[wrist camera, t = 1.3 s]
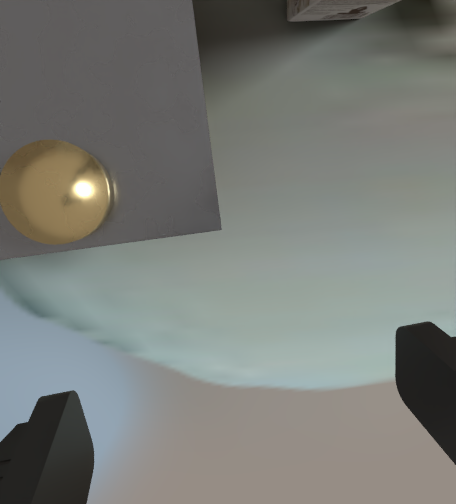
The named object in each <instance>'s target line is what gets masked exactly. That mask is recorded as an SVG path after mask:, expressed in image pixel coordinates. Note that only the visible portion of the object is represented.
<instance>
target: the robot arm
mask: <svg viewBox="0 0 456 504" xmlns="http://www.w3.org/2000/svg"><path fill="white" fill-rule="evenodd" d="M395 377H396V385H397V389H398V392H399V394H400V396H401V398H402V400H403V401H404V403H405V405H406V406H407V407H408V408H409V409H410V411H411V412H412V413H413V414H414V415H415V417H416V418H417V419H418V420H419V421H420V423H421V424H422V425H423V426H424V427H425V429H426V430H427V431H428V432H429V434H430V435H431V436H432V437H433V438H434V439H435V441H436V442H437V443H438V444H439V446H440V447H441V448H442V449H443V450H444V452H445V453H446V454H447V455H448V456H449V458H450V459H451V460H452V461H453V462H454V463H455V465H456V337H450V336H449V335H448V334H446V333H445V332H444V331H442V330H441V329H440V328H438V327H437V326H436V325H435V324H433V323H432V322H428V321H427V322H422V323H417V324H412V325H407V326H402V327H399V328H398V329H397V331H396V370H395ZM93 469H94V449H93V443H92V439H91V436H90V432H89V429H88V426H87V422H86V419H85V416H84V413H83V409H82V406H81V403H80V399H79V397H78V394H77V393H76V392H75V391H68V392H63V393H58V394H52V395H48V396H42V397H40V398H39V399H38V401H37V404H36V406H35V408H34V410H33V412H32V414H31V417H30V419H29V421H28V422H26V423H21V424H17V425H16V426H15V428H14V429H13V430H12V431H11V432H10V433H9V434H8V435H7V436H6V437H5V438H4V439H3V440H2V441H1V442H0V504H86V503H87V498H88V493H89V489H90V483H91V479H92V474H93Z"/></svg>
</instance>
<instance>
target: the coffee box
mask: <svg viewBox="0 0 456 504" xmlns="http://www.w3.org/2000/svg"><path fill="white" fill-rule="evenodd" d="M398 1H400V0H287V20H288V21H291V22H296V21H318V20H342V19H360V18H364V17H366V16H368V15H370V14H372V13H374V12H376V11H378V10H380V9H383V8H385V7H387V6H389V5H392V4H394V3H396V2H398Z"/></svg>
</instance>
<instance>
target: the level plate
mask: <svg viewBox="0 0 456 504" xmlns="http://www.w3.org/2000/svg"><path fill="white" fill-rule="evenodd" d="M217 230H222V229H221V221H220V213H219V205H218V198H217V190H216V182H215V174H214V167H213V159H212V151H211V143H210V136H209V128H208V120H207V112H206V105H205V97H204V89H203V81H202V74H201V66H200V58H199V50H198V43H197V35H196V27H195V19H194V12H193V4H192V0H0V260H3V259H10V258H17V257H25V256H32V255H40V254H47V253H54V252H62V251H69V250H77V249H84V248H91V247H99V246H106V245H113V244H121V243H128V242H136V241H143V240H150V239H158V238H165V237H173V236H180V235H187V234H195V233H202V232H210V231H217Z"/></svg>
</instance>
